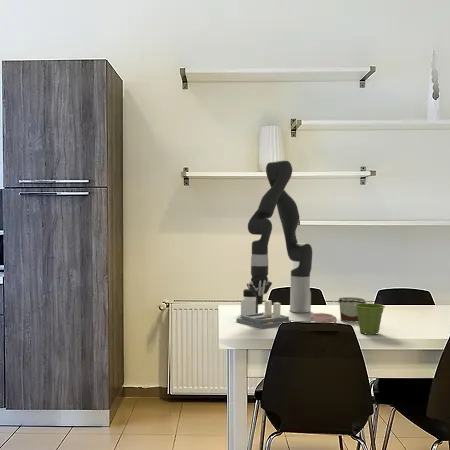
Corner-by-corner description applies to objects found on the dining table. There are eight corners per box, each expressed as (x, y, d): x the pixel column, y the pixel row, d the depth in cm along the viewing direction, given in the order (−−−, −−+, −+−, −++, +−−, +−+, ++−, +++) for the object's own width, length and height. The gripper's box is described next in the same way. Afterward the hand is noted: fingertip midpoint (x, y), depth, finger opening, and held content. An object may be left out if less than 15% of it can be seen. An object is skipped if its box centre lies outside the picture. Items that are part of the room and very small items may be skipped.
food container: (367, 320, 255) (367, 298, 255) (365, 322, 249) (366, 300, 249) (339, 318, 259) (339, 296, 259) (337, 320, 253) (338, 298, 253)
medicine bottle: (255, 316, 259) (256, 290, 258) (240, 315, 260) (241, 289, 260) (258, 313, 266) (258, 288, 265) (243, 313, 267) (243, 287, 267)
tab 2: (277, 318, 246) (278, 302, 246) (282, 319, 243) (282, 303, 243) (270, 319, 244) (271, 302, 243) (275, 320, 241) (275, 304, 241)
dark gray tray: (268, 317, 256) (268, 310, 256) (293, 324, 243) (294, 316, 243) (236, 321, 246) (236, 314, 246) (261, 328, 232) (261, 320, 232)
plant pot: (379, 330, 233) (379, 303, 233) (388, 336, 222) (389, 308, 221) (350, 329, 233) (351, 302, 233) (358, 336, 221) (359, 307, 221)
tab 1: (269, 315, 252) (269, 299, 252) (273, 316, 250) (273, 300, 250) (262, 316, 250) (262, 300, 250) (266, 317, 247) (267, 301, 247)
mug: (318, 332, 227) (318, 318, 227) (305, 327, 236) (305, 313, 236) (343, 330, 231) (343, 316, 231) (329, 326, 241) (330, 312, 240)
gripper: (265, 262, 253) (265, 301, 253) (242, 264, 245) (242, 304, 246) (276, 264, 247) (276, 303, 247) (253, 266, 239) (252, 306, 240)
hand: (259, 304), depth 246 cm, fingers closed
